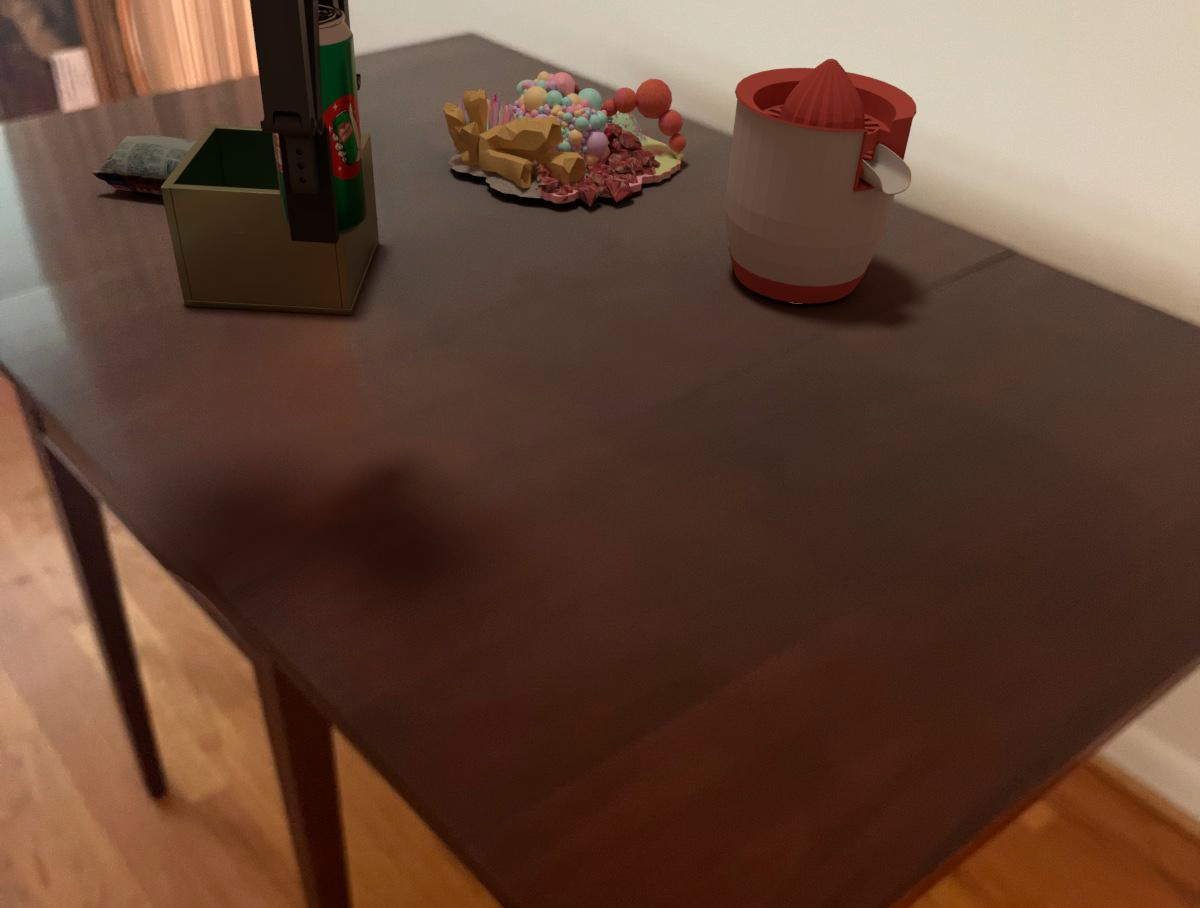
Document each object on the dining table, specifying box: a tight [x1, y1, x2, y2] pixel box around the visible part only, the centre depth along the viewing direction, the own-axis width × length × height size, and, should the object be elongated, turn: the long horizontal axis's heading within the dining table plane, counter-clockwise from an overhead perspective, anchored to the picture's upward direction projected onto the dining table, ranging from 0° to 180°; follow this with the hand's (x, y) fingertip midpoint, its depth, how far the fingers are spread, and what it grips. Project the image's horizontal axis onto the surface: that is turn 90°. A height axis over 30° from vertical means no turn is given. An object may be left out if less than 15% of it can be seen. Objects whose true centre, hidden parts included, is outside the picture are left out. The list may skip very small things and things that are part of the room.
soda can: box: [272, 4, 367, 236], centre depth 68 cm, size 5×5×12 cm
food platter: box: [442, 71, 687, 207], centre depth 127 cm, size 25×24×9 cm
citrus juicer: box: [724, 58, 917, 305], centre depth 104 cm, size 16×17×20 cm
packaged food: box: [91, 134, 197, 196], centre depth 119 cm, size 9×12×5 cm
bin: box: [161, 123, 380, 316], centre depth 104 cm, size 15×15×11 cm
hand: (325, 218), depth 72 cm, fingers closed on soda can, 5 cm apart
